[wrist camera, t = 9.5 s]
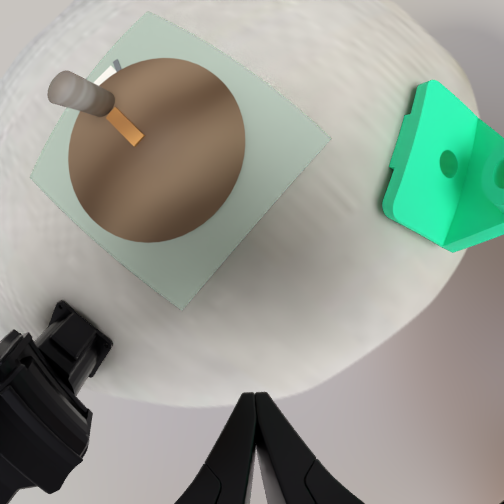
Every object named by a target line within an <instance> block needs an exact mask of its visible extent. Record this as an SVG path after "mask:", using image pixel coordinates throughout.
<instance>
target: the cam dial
mask: <svg viewBox="0 0 504 504" xmlns="http://www.w3.org/2000/svg"><path fill="white" fill-rule="evenodd" d="M48 99H49V101H50V102H51V103H53V104H57V105H60V106H64V107H68V108H71V109H74V110H78V111H80V112H79V114H78V117H77V119H76V121H75V124H74V127H73V130H72V133H71V137H70V143H69V151H68V166H69V174H70V179H71V183H72V186H73V190H74V192H75V194H76V197H77V199H78V201H79V202H80V204H81V206H82V207H83V209H84V210H85V212H86V213H87V214H88V215H89V217H90V218H91V219H92V220H93V221H94V222H96V223H97V224H98V225H99V226H100V227H102V228H103V229H104V230H106V231H108V232H109V233H111V234H113V235H115V236H117V237H120V238H123V239H125V240H130V241H134V242H143V243H153V242H162V241H167V240H172V239H175V238H178V237H181V236H183V235H185V234H187V233H189V232H191V231H193V230H195V229H196V228H198V227H199V226H201V225H202V224H204V223H205V222H206V221H207V220H208V219H210V218H211V217H212V216H213V215H214V214H215V213H216V212H217V211H218V210H219V208H220V207H221V206H222V205H223V204H224V202H225V201H226V199H227V198H228V196H229V195H230V194H231V192H232V190H233V188H234V186H235V184H236V182H237V179H238V177H239V174H240V171H241V168H242V164H243V159H244V153H245V128H244V123H243V118H242V115H241V112H240V109H239V106H238V104H237V102H236V100H235V98H234V96H233V94H232V93H231V92H230V90H229V89H228V87H227V86H226V85H225V84H224V83H223V82H222V81H221V80H220V79H219V78H218V77H217V76H216V75H214V74H213V73H212V72H210V71H209V70H207V69H206V68H204V67H202V66H200V65H198V64H195V63H192V62H189V61H186V60H181V59H176V58H155V59H149V60H144V61H140V62H137V63H134V64H132V65H129V66H127V67H125V68H123V69H121V70H119V71H118V72H116V73H115V74H113V75H112V76H110V77H109V78H108V79H106V80H105V81H104V82H103V83H102V84H100V85H99V86H98V85H96V84H94V83H92V82H90V81H88V80H86V79H84V78H82V77H80V76H78V75H76V74H74V73H72V72H70V71H63V72H61V73H59V74H58V75H57V76H56V77H55V78H54V79H53V80H52V82H51V84H50V86H49V89H48Z"/></svg>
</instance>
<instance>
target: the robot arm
mask: <svg viewBox="0 0 504 504" xmlns="http://www.w3.org/2000/svg"><path fill="white" fill-rule="evenodd" d="M106 343H107V344H108V345H107V344H106ZM112 346H113V343H112V341H111V340H109V339H108V338H107V337H106V336H104V335H103V334H102V333H100V332H99V331H98V330H97V329H95V328H94V327H93V326H92V325H90V324H89V323H88V322H87V321H86V320H84V319H83V318H82V317H81V316H80V315H79V314H77V313H76V312H75V311H74V310H73V309H72V308H71V307H69V306H68V305H67V304H66V303H65V302H64V301H62V300H61V301H59V302H58V303H57V304H56V307H55V310H54V312H53V315H52V318H51V321H50V323H49V326H48V328H47V329H46V330H45V331H44V332H43V333H42V334H41V335H40V336H39V337H38V338H37V340H36V341H35V342H34V341H33V340H32V337H31V335H30V333H29V332H28V333H26V334H24V335H22V334H21V333H19V332H17V331H16V330H12V331H11V332H10V333H8V334H7V335H6V336H5V337H4V338H3V339H2V340H1V341H0V504H8V503H9V502H10V501H11V499H12V498H13V497H14V495H15V494H16V493H17V492H18V491H19V490H20V489H25V488H31V487H37V486H38V487H39V488H41V489H42V490H43V491H45V492H46V493H48V494H52V493H54V492H56V491H58V490H59V489H60V488H61V486H62V484H63V483H64V481H65V479H66V477H67V476H68V474H69V473H70V472H71V471H72V470H73V469H74V468H75V467H76V466H77V465H78V464H80V463H81V462H82V461H83V459H82V458H83V456H84V455H85V453H86V451H87V448H88V443H89V436H90V428H91V421H92V415H93V413H92V412H91V411H90V410H89V409H87V408H86V407H85V406H84V405H83V404H82V402H81V401H80V400H79V399H78V398H77V397H76V396H77V394H78V392H79V390H80V389H81V387H82V386H83V384H84V382H85V381H86V379H87V377H90V378H92V377H93V376H94V374H95V373H96V371H97V369H98V368H99V366H100V365H101V363H102V361H103V360H104V358H105V357H106V355H107V354H108V352H109V351H110V349H111V348H112ZM256 449H257V455H258V460H259V465H260V470H261V475H262V480H263V484H264V489H265V494H266V498H267V502H268V504H365V503H363V502H362V501H361V500H360V499H358V498H357V497H356V496H355V495H353V494H352V493H351V492H350V491H349V490H347V489H346V488H345V487H344V486H343V485H342V484H341V483H339V482H338V481H337V480H336V479H335V478H334V477H333V476H332V475H331V474H330V473H329V472H328V471H327V469H325V467H324V466H323V465H322V464H321V462H320V461H319V460H318V459H316V457H315V455H314V454H313V453H312V452H311V450H310V449H309V448H308V446H307V445H306V444H305V443H304V441H303V440H302V439H301V437H300V436H299V435H298V433H297V432H296V431H295V430H294V428H293V427H292V426H291V424H290V423H289V422H288V420H287V419H286V418H285V416H284V415H283V414H282V412H281V411H280V409H279V408H278V407H277V405H276V404H275V403H274V401H273V400H272V398H271V397H270V396H269V394H268V393H267V392H256V393H255V394H254V393H253V392H244V393H242V394H241V396H240V398H239V400H238V402H237V404H236V406H235V408H234V410H233V412H232V414H231V415H230V418H229V419H228V421H227V423H226V425H225V427H224V429H223V430H222V432H221V434H220V436H219V438H218V439H217V441H216V443H215V445H214V447H213V449H212V450H211V452H210V454H209V455H208V457H207V459H206V461H205V464H203V466H202V467H201V469H200V471H199V472H198V474H197V475H196V477H195V479H194V480H193V482H192V483H191V484H190V486H189V487H188V488H187V489H186V491H185V492H184V493H183V494H182V496H181V497H180V498H179V499H178V500H177V501H176V502H175V503H174V504H250V497H251V488H252V479H253V470H254V462H255V450H256ZM500 504H504V500H503V501H502V502H501V503H500Z"/></svg>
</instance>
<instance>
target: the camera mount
mask: <svg viewBox="0 0 504 504" xmlns="http://www.w3.org/2000/svg"><path fill="white" fill-rule="evenodd" d="M389 167H390V168H392V169H393V170H394V171H393V174H392V177H391V180H390V182H389V185H388V188H387V191H386V193H385V196H384V199H383V203H382V208H383V212H384V214H385V215H386V216H387V217H388V218H390V219H392V220H393V221H395V222H397V223H399V224H401V225H403V226H405V227H407V228H409V229H410V230H412V231H414V232H416V233H418V234H420V235H421V236H423V237H425V238H427V239H428V240H430V241H432V242H434V243H435V244H437V245H439V246H440V247H442V248H444V249H446V250H448V251H450V252H452V253H453V252H456V251H459V250H462V249H465V248H468V247H470V246H474V245H476V244H479V243H482V242H485V241H487V240H490V239H493V238H496V237H498V236H501V235H504V138H503V137H502V136H500V135H499V134H498V133H497V132H495V131H494V130H493V129H492V128H491V127H489V126H488V125H487V124H486V123H484V122H483V121H482V120H480V119H479V118H478V117H477V116H476V115H475V114H474V113H473V112H472V111H471V110H470V109H469V108H468V107H467V106H466V105H464V104H463V103H462V102H461V101H460V100H459V99H458V98H457V97H456V96H455V95H454V94H452V93H451V92H450V91H449V90H448V89H447V88H445V87H444V86H443V85H442V84H441V83H439V82H438V81H436V80H430V81H428V82H425V83H422V84H420V85H418V87H417V90H416V94H415V99H414V103H413V107H412V111H411V114H408V115H404V119H403V123H402V126H401V129H400V133H399V136H398V139H397V143H396V146H395V149H394V152H393V155H392V158H391V161H390V164H389Z"/></svg>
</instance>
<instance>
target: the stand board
mask: <svg viewBox="0 0 504 504" xmlns="http://www.w3.org/2000/svg"><path fill="white" fill-rule="evenodd" d="M155 58H176V59H181V60H186V61H189V62H192V63H195V64H198V65H200V66H202V67H204V68H206V69H207V70H209V71H210V72H212V73H213V74H214V75H216V76H217V77H218V78H219V79H220V80H221V81H222V82H223V83H224V84H225V85H226V86H227V87H228V89H229V90H230V92H231V93H232V94H233V96H234V98H235V100H236V102H237V104H238V106H239V109H240V112H241V115H242V118H243V123H244V128H245V153H244V159H243V164H242V168H241V171H240V174H239V177H238V179H237V182H236V184H235V186H234V188H233V190H232V192H231V194H230V195H229V196H228V198H227V199H226V201H225V202H224V204H223V205H222V206H221V207H220V208H219V210H218V211H217V212H216V213H215V214H214V215H213V216H212V217H211V218H210V219H208V220H207V221H206V222H205V223H204V224H202V225H201V226H199V227H198V228H196V229H195V230H193V231H191V232H189V233H187V234H185V235H183V236H181V237H178V238H175V239H172V240H167V241H162V242H153V243H143V242H134V241H130V240H125V239H123V238H120V237H117V236H115V235H113V234H111V233H109V232H108V231H106V230H104V229H103V228H102V227H100V226H99V225H98V224H97V223H96V222H94V221H93V220H92V219H91V218H90V217H89V215H88V214H87V213H86V212H85V210H84V209H83V207H82V206H81V204H80V202H79V201H78V199H77V197H76V194H75V192H74V190H73V186H72V183H71V179H70V174H69V166H68V151H69V143H70V137H71V133H72V130H73V127H74V124H75V121H76V119H77V117H78V114H79V112H80V111H78V110H74V109H71V108H68V107H67V108H66V110H65V111H64V113H63V114H62V116H61V118H60V119H59V121H58V123H57V124H56V126H55V128H54V130H53V131H52V133H51V135H50V137H49V139H48V141H47V142H46V144H45V146H44V148H43V150H42V152H41V154H40V156H39V158H38V160H37V162H36V165H35V167H34V169H33V171H32V173H31V176H30V178H31V179H32V180H33V182H34V183H35V184H36V185H37V186H38V187H39V188H40V189H41V190H42V191H43V192H44V193H45V194H46V195H47V196H48V197H49V198H50V199H51V200H52V201H53V202H54V203H55V204H56V205H57V206H58V207H59V208H60V209H61V210H62V211H63V212H64V213H65V214H66V215H67V216H68V217H69V218H70V219H71V220H72V221H73V222H74V223H75V224H76V225H78V226H79V227H80V228H81V229H82V230H83V231H84V232H85V233H86V234H87V235H88V236H90V237H91V238H92V239H93V240H94V241H95V242H96V243H97V244H99V245H100V246H101V247H102V248H103V249H104V250H105V251H107V252H108V253H109V254H110V255H111V256H112V257H114V258H115V259H116V260H117V261H118V262H120V263H121V264H122V265H123V266H124V267H126V268H127V269H128V270H129V271H130V272H132V273H133V274H134V275H135V276H137V277H138V278H139V279H140V280H142V281H143V282H144V283H146V284H147V285H148V286H149V287H151V288H152V289H153V290H155V291H156V292H157V293H158V294H160V295H161V296H162V297H164V298H165V299H166V300H168V301H169V302H171V303H172V304H173V305H175V306H176V307H177V308H179V309H180V310H181V311H183V309H184V308H185V307H186V306H187V305H188V303H189V302H190V301H191V300H192V299H193V297H194V296H195V295H196V294H197V293H198V291H199V290H200V289H201V288H202V287H203V286H204V284H205V283H206V282H207V281H208V280H209V278H210V277H211V276H212V275H213V274H214V273H215V271H216V270H217V269H218V268H219V267H220V266H221V264H222V263H223V262H224V261H225V260H226V258H227V257H228V256H229V255H230V254H231V253H232V251H233V250H234V249H235V248H236V247H237V246H238V244H239V243H240V242H241V241H242V240H243V239H244V238H245V236H246V235H247V234H248V233H249V232H250V231H251V229H252V228H253V227H254V226H255V225H256V224H257V222H258V221H259V220H260V219H261V218H262V217H263V216H264V214H265V213H266V212H267V211H268V210H269V209H270V208H271V206H272V205H273V204H274V203H275V202H276V201H277V199H278V198H279V197H280V196H281V195H282V194H283V193H284V192H285V190H286V189H287V188H288V187H289V186H290V185H291V184H292V182H293V181H294V180H295V179H296V178H297V177H298V176H299V174H300V173H301V172H302V171H303V170H304V169H305V168H306V167H307V165H308V164H309V163H310V162H311V161H312V160H313V159H314V158H315V156H316V155H317V154H318V153H319V152H320V151H321V150H322V149H323V148H324V146H325V145H326V144H327V143H328V142H329V141H330V140H331V138H330V137H329V136H328V135H327V134H326V133H325V132H324V131H323V130H322V129H321V128H320V127H319V126H318V125H316V124H315V123H314V122H313V121H312V120H311V119H310V118H309V117H307V116H306V115H305V114H304V113H303V112H302V111H301V110H299V109H298V108H297V107H296V106H295V105H294V104H292V103H291V102H290V101H289V100H288V99H286V98H285V97H284V96H283V95H281V94H280V93H279V92H278V91H276V90H275V89H274V88H272V87H271V86H270V85H269V84H267V83H266V82H265V81H263V80H262V79H261V78H259V77H258V76H257V75H255V74H254V73H252V72H251V71H250V70H248V69H247V68H245V67H244V66H243V65H241V64H240V63H238V62H237V61H235V60H234V59H232V58H231V57H229V56H228V55H226V54H225V53H223V52H222V51H220V50H219V49H217V48H215V47H214V46H212V45H210V44H209V43H207V42H206V41H204V40H202V39H200V38H199V37H197V36H195V35H194V34H192V33H190V32H188V31H186V30H185V29H183V28H181V27H179V26H177V25H175V24H173V23H171V22H169V21H167V20H165V19H163V18H161V17H159V16H157V15H155V14H153V13H151V12H149V11H147V12H146V13H145V14H144V15H143V16H142V17H141V18H140V19H139V20H138V21H137V22H136V23H135V24H134V25H133V26H132V27H131V28H130V29H129V30H128V31H127V32H126V33H125V34H124V35H123V36H122V37H121V38H120V39H119V40H118V41H117V42H116V44H115V45H114V46H113V47H112V48H111V49H110V50H109V51H108V53H107V54H106V55H105V56H104V57H103V59H102V60H101V61H100V62H99V63H98V65H97V66H96V67H95V68H94V70H93V71H92V72H91V74H90V75H89V76H88V78H87V79H86V80H88V81H90V82H92V83H94V84H96V85H98V86H99V85H100V84H102V83H103V82H104V81H105V80H106V79H108V78H109V77H110V76H112V75H113V74H115V73H116V72H118V71H119V70H121V69H123V68H125V67H127V66H129V65H132V64H134V63H137V62H140V61H144V60H149V59H155Z"/></svg>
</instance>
